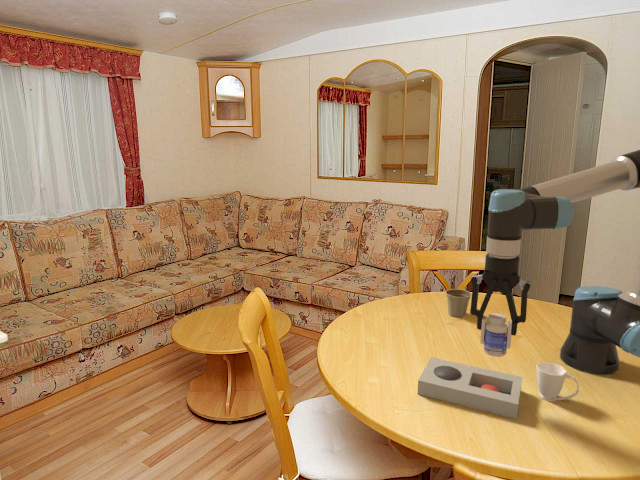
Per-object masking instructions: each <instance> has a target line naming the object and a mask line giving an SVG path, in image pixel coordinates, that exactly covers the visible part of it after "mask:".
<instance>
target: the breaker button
mask: <svg viewBox="0 0 640 480" xmlns="http://www.w3.org/2000/svg"><path fill="white" fill-rule="evenodd" d="M481 388H483V389H487V390H492V391H496V392H499V389H498V388H497V387H496V386H493V385H489V384H485V385H482V386H481Z"/></svg>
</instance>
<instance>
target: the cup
mask: <svg viewBox="0 0 640 480" xmlns="http://www.w3.org/2000/svg"><path fill="white" fill-rule="evenodd" d="M535 367H536V382H537V389H538V396H539V397H540V399H542V400H544V401H547V402H556V401H565V400H569V399H572V398H574V397H575V396H577V395H578V393H579V382H578V380H577V379H576V377H575V376H573V375H569V374H568V372H567V370H566V369H565V367H563V366H562V365H560V364H557V363H553V362H543V361H541V362H540V363H538V364H536V365H535ZM565 379H571V380H573V381H574V382H575V384H576V391H575V393H572V394H570V395H567V396H563V397H558V396H559V395H560V393H561V390H562V389H563V385H564V383H565Z"/></svg>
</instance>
